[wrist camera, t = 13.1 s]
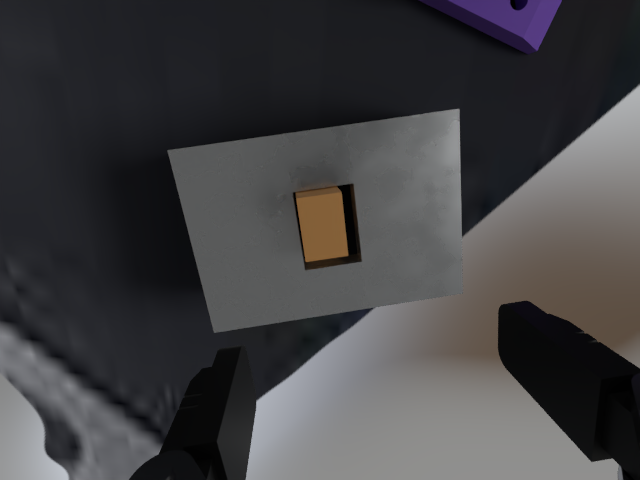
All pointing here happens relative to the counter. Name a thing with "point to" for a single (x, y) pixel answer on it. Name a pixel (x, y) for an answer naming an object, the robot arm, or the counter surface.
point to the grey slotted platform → (282, 225)
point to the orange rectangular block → (322, 223)
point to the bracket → (504, 19)
